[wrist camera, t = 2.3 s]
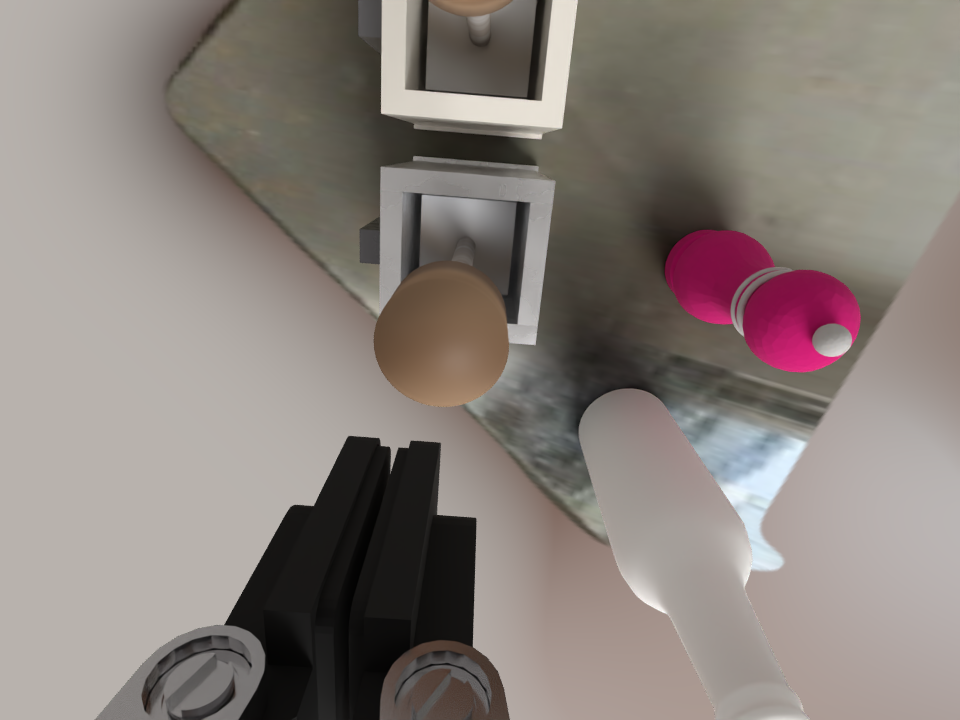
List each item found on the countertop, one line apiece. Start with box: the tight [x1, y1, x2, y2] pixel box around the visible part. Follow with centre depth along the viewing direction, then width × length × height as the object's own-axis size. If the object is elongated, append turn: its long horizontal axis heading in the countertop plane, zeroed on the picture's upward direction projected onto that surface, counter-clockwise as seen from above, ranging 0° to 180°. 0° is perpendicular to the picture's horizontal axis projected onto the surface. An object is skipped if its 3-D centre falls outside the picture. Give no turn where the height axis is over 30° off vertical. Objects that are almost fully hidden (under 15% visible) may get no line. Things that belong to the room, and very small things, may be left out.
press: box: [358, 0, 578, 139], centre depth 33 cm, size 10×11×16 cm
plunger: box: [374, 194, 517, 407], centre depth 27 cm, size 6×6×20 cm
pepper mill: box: [665, 230, 861, 372], centre depth 37 cm, size 7×7×20 cm
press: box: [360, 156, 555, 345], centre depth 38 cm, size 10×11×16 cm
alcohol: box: [579, 388, 811, 720], centre depth 38 cm, size 9×9×30 cm
